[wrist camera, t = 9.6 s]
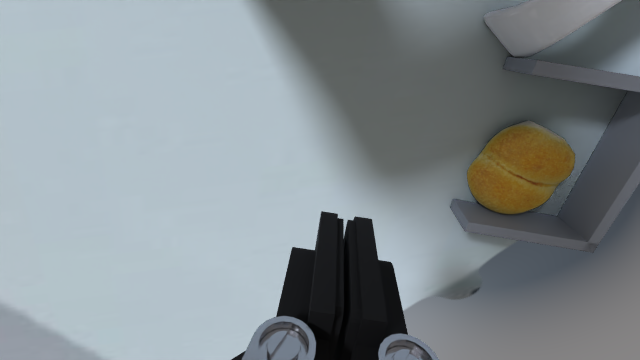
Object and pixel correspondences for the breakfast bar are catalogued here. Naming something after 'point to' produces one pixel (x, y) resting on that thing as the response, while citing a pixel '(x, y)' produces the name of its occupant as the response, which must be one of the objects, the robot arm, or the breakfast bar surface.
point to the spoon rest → (542, 22)
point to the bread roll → (520, 168)
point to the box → (592, 185)
